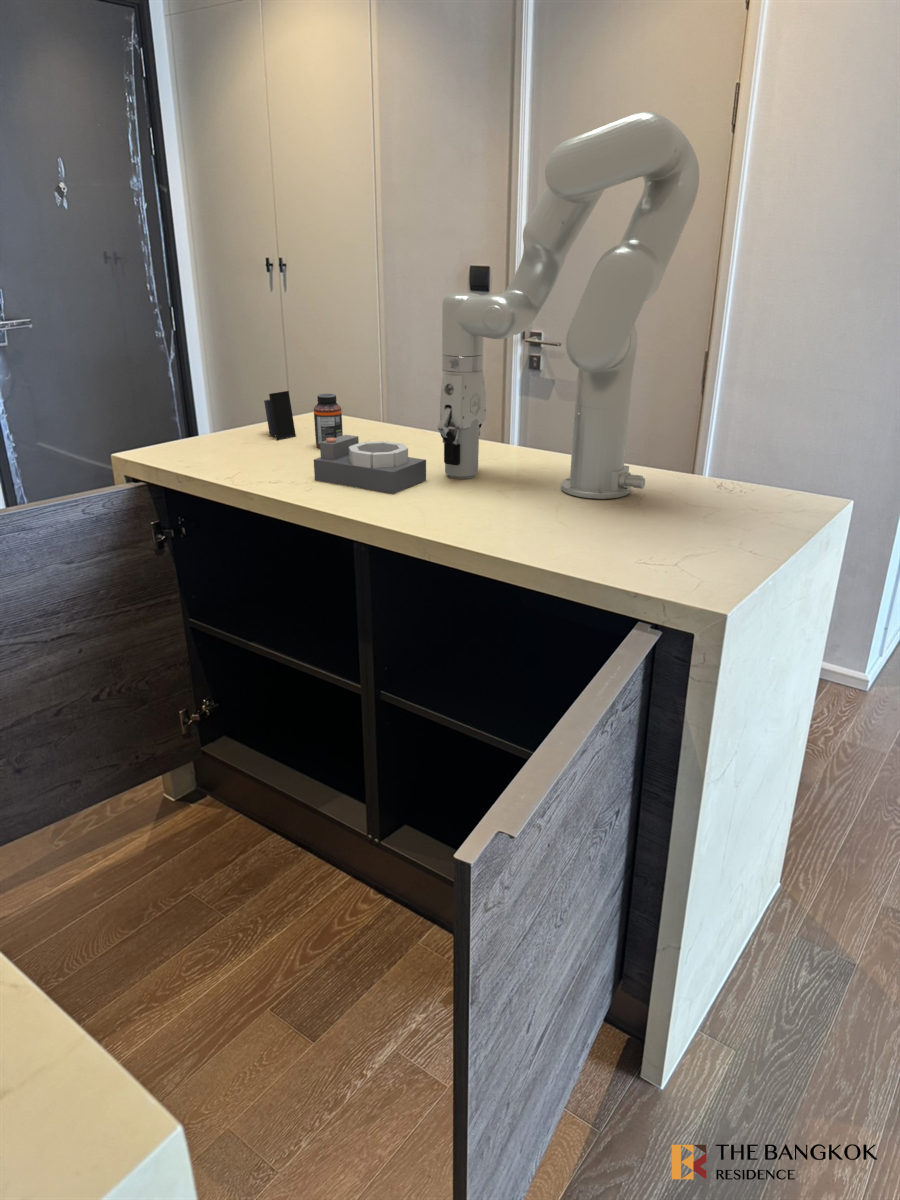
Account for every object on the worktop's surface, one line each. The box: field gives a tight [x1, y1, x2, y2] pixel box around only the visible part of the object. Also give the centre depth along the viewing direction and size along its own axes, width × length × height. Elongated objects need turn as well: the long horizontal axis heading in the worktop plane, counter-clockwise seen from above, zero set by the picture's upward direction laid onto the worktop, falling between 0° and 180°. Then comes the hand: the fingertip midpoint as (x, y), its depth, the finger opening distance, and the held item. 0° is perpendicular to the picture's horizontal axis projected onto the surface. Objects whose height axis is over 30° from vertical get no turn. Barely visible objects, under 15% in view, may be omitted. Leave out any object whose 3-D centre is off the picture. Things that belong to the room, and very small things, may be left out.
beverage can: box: [444, 419, 480, 480], centre depth 164 cm, size 6×6×12 cm
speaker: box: [263, 390, 297, 441], centre depth 197 cm, size 8×6×10 cm
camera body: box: [313, 434, 427, 495], centre depth 162 cm, size 18×11×8 cm, turn 59°
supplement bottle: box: [313, 393, 344, 449], centre depth 187 cm, size 6×6×11 cm
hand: (461, 459), depth 165 cm, fingers closed on beverage can, 6 cm apart
